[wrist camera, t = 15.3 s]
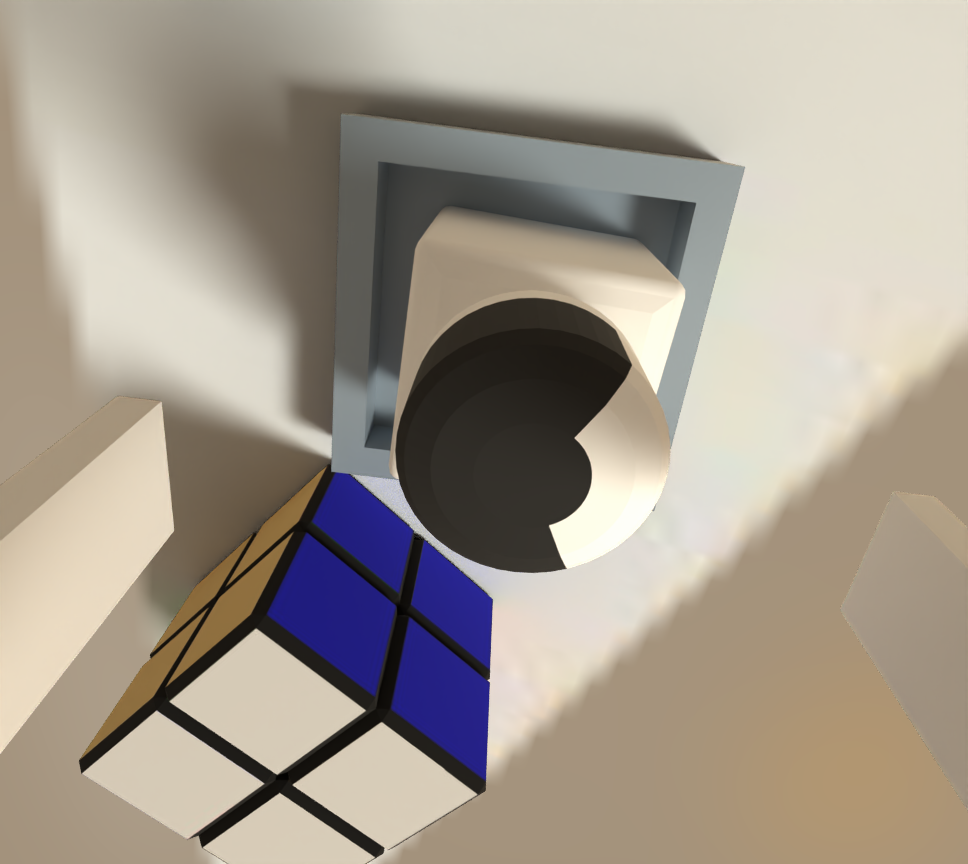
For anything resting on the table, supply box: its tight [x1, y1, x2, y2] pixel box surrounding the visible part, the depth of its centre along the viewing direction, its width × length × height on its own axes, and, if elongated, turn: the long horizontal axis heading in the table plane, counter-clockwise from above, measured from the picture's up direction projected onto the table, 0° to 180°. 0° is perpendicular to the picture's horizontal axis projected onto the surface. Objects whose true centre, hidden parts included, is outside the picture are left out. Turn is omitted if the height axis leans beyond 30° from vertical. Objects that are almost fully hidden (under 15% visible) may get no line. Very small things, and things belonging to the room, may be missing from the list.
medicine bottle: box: [389, 206, 685, 573], centre depth 20 cm, size 7×7×12 cm
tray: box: [331, 114, 745, 511], centre depth 25 cm, size 12×12×2 cm
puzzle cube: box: [79, 465, 493, 864], centre depth 27 cm, size 10×10×10 cm
